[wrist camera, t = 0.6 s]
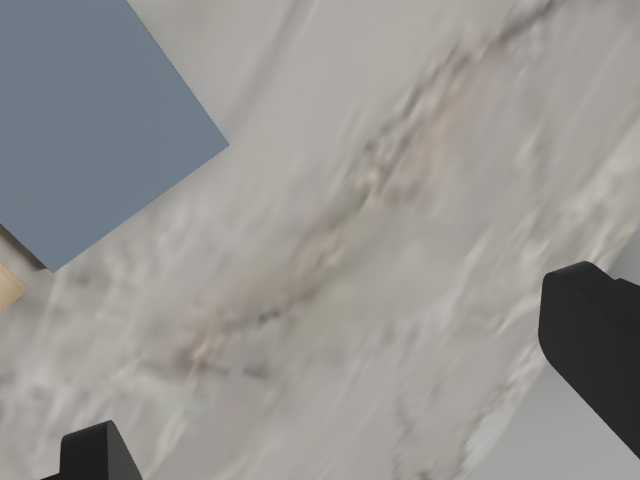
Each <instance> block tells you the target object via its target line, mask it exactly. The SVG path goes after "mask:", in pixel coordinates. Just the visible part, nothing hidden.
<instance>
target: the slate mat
mask: <svg viewBox="0 0 640 480" xmlns="http://www.w3.org/2000/svg"><path fill="white" fill-rule="evenodd" d="M228 146H229V143H228V142H227V140H226V139H225V138H224V136H223V135H222V133H221V132H220V131H219V129H218V128H217V126H216V125H215V124H214V122H213V121H212V119H211V118H210V117H209V115H208V114H207V112H206V111H205V110H204V108H203V107H202V105H201V104H200V103H199V101H198V100H197V98H196V97H195V96H194V94H193V93H192V91H191V90H190V89H189V87H188V86H187V84H186V83H185V82H184V80H183V79H182V77H181V76H180V75H179V73H178V72H177V70H176V69H175V68H174V66H173V65H172V63H171V62H170V61H169V59H168V58H167V56H166V55H165V54H164V52H163V51H162V49H161V48H160V47H159V45H158V44H157V42H156V41H155V40H154V38H153V37H152V35H151V34H150V33H149V31H148V30H147V28H146V27H145V26H144V24H143V23H142V21H141V20H140V19H139V17H138V16H137V14H136V13H135V12H134V10H133V9H132V7H131V6H130V5H129V3H128V2H127V0H0V224H1V225H2V226H4V227H5V228H6V229H7V230H8V231H9V232H10V233H11V234H12V235H13V236H14V237H15V238H16V239H17V240H18V241H19V242H20V243H21V244H22V245H24V246H25V247H26V248H27V249H28V250H29V251H30V252H31V253H32V254H33V255H34V256H35V257H36V258H37V259H38V260H39V261H40V262H41V263H43V264H44V265H45V266H46V267H47V268H48V269H49V270H50V271H51V272H52V273H54V272H55V271H57V270H58V269H60V268H61V267H62V266H64V265H65V264H66V263H68V262H69V261H71V260H72V259H73V258H75V257H76V256H78V255H79V254H80V253H82V252H83V251H84V250H86V249H87V248H89V247H90V246H91V245H93V244H94V243H95V242H97V241H98V240H100V239H101V238H102V237H104V236H105V235H106V234H108V233H109V232H111V231H112V230H113V229H115V228H116V227H117V226H119V225H120V224H122V223H123V222H124V221H126V220H127V219H128V218H130V217H131V216H133V215H134V214H135V213H137V212H138V211H139V210H141V209H142V208H144V207H145V206H146V205H148V204H149V203H150V202H152V201H153V200H155V199H156V198H157V197H159V196H160V195H162V194H163V193H164V192H166V191H167V190H168V189H170V188H171V187H173V186H174V185H175V184H177V183H178V182H179V181H181V180H182V179H184V178H185V177H186V176H188V175H189V174H190V173H192V172H193V171H195V170H196V169H197V168H199V167H200V166H201V165H203V164H204V163H206V162H207V161H208V160H210V159H211V158H212V157H214V156H215V155H217V154H218V153H219V152H221V151H222V150H223V149H225V148H226V147H228Z"/></svg>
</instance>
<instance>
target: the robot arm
mask: <svg viewBox="0 0 640 480" xmlns="http://www.w3.org/2000/svg"><path fill="white" fill-rule="evenodd" d="M538 338H539V343H540V346H541V349H542V351H543V353H544V355H545V357H546V359H547V360H548V361H549V363H550V364H551V365H552V366H553V367H554V368H555V370H556V371H557V372H558V373H559V374H560V375H561V376H562V377H563V378H564V379H565V380H566V381H567V382H568V383H569V384H570V386H571V387H572V388H573V389H574V390H575V391H576V392H577V393H578V394H579V395H580V396H581V397H582V398H583V399H584V400H585V402H586V403H587V404H588V405H589V406H590V407H591V408H592V409H593V410H594V411H595V412H596V413H597V414H598V415H599V416H600V417H601V419H603V421H604V422H605V423H606V424H607V425H608V426H609V427H610V428H611V429H612V430H613V431H614V432H615V433H616V435H618V437H619V438H620V439H621V440H622V441H623V442H624V443H625V444H626V445H627V446H628V447H629V448H630V449H631V450H632V452H633V453H634V454H635V455H636V456H637V457H638V458H639V459H640V286H639V285H636V284H634V283H631V282H629V281H626V280H624V279H621V278H619V279H617V280H614V279H612V278H611V277H610V276H608V275H607V274H606V273H605V272H603V271H602V270H601V269H599V268H598V267H597V266H595V265H594V264H592V263H590V262H587V261H582V262H579V263H576V264H573V265H570V266H567V267H564V268H561V269H559V270H556V271H553V272H550V273H547V274H546V275H545V277H544V279H543V284H542V295H541V306H540V317H539V328H538ZM41 480H142V477H141V475H140V473H139V471H138V469H137V467H136V465H135V463H134V461H133V459H132V457H131V455H130V453H129V451H128V449H127V447H126V445H125V443H124V441H123V439H122V437H121V435H120V433H119V431H118V429H117V427H116V425H115V424H114V422H113V421H111V420H109V421H106V422H103V423H100V424H97V425H94V426H91V427H88V428H85V429H82V430H79V431H76V432H73V433H70V434H68V435H65V436H64V437H63V438H62V441H61V451H60V471H59V473H58V474H55V475H52V476H49V477H46V478H44V479H41Z"/></svg>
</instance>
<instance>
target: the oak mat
mask: <svg viewBox="0 0 640 480" xmlns="http://www.w3.org/2000/svg"><path fill="white" fill-rule="evenodd" d="M25 290H26V286H25V285H24V284H23V283H22V282H21V281H20V280H19V279H17V278H16V277H15V276H14V275H13V274H12V273H11V272H10V271H9V270H8V269H6V268H5V267H4V266H3V265H2V264H1V263H0V311H2V310H3V309H5V308H6V307H7V306H9V305H10V304H11V303H13V302H14V301H16V300H17V299H18V298H20V297H21V296H22V295H24V294H25Z"/></svg>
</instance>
